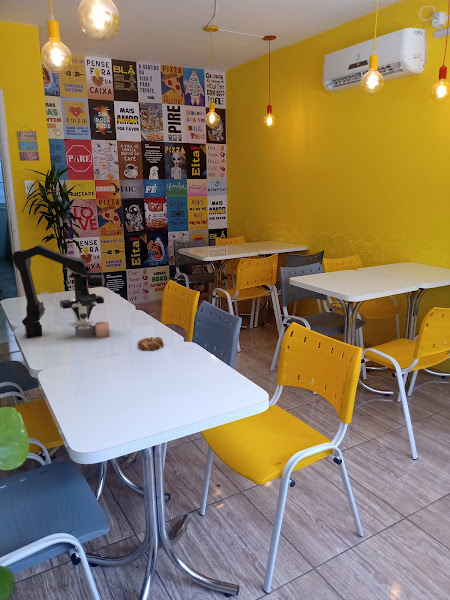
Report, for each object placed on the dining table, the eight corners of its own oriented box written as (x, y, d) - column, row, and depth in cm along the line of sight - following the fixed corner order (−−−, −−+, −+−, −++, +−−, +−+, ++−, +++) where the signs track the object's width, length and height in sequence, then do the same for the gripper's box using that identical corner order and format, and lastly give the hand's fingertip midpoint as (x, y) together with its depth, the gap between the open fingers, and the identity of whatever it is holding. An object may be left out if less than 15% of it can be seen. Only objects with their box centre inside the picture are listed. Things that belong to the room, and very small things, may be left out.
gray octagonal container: (79, 337, 203) (78, 330, 202) (74, 333, 209) (73, 326, 208) (99, 334, 209) (99, 326, 208) (94, 330, 215) (93, 322, 214)
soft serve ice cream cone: (86, 326, 221) (84, 294, 217) (70, 326, 221) (67, 294, 217) (92, 321, 229) (89, 291, 225) (75, 321, 229) (73, 291, 225)
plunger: (80, 330, 204) (78, 316, 202) (76, 328, 208) (75, 313, 207) (92, 328, 207) (91, 314, 205) (88, 325, 211) (87, 311, 210)
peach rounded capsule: (98, 338, 202) (97, 326, 201) (94, 335, 207) (93, 323, 205) (111, 336, 205) (110, 324, 204) (106, 333, 210) (105, 320, 209)
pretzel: (152, 341, 200) (152, 333, 199) (169, 346, 193) (169, 338, 193) (131, 347, 191) (131, 339, 190) (148, 353, 184) (148, 344, 184)
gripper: (65, 292, 191) (68, 327, 195) (107, 287, 202) (109, 320, 205) (58, 288, 200) (61, 321, 204) (98, 283, 211) (100, 315, 214)
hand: (83, 319), depth 207 cm, fingers open, 4 cm apart
